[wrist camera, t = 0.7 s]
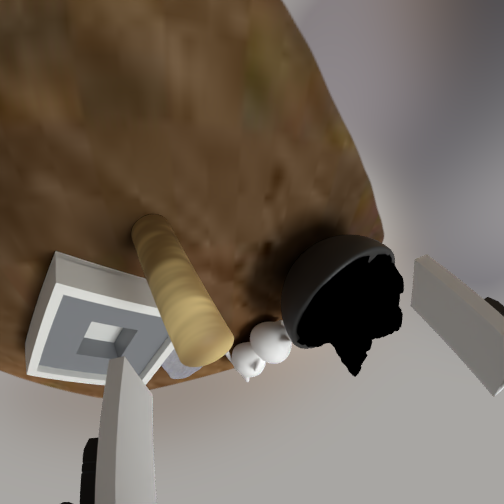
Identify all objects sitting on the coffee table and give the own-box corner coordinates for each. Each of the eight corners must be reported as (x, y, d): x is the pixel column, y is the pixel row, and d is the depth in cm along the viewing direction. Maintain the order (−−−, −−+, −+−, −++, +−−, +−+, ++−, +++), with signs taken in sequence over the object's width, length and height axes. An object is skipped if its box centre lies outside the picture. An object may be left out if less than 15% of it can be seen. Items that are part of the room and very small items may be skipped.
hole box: (24, 343, 31) (26, 374, 28) (55, 250, 28) (56, 282, 24) (134, 361, 44) (143, 387, 41) (185, 289, 40) (199, 316, 37)
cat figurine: (253, 395, 51) (307, 355, 50) (210, 362, 48) (266, 317, 47) (248, 366, 59) (294, 330, 58) (209, 335, 56) (258, 294, 55)
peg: (124, 241, 31) (168, 365, 21) (144, 208, 30) (200, 326, 20) (156, 253, 35) (212, 368, 24) (177, 222, 34) (244, 333, 23)
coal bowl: (333, 183, 42) (437, 264, 30) (364, 246, 57) (434, 311, 45) (231, 281, 44) (307, 389, 32) (289, 318, 59) (348, 393, 47)
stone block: (138, 334, 44) (169, 368, 50) (145, 355, 40) (177, 388, 46) (204, 295, 47) (227, 334, 53) (216, 314, 43) (239, 352, 49)
